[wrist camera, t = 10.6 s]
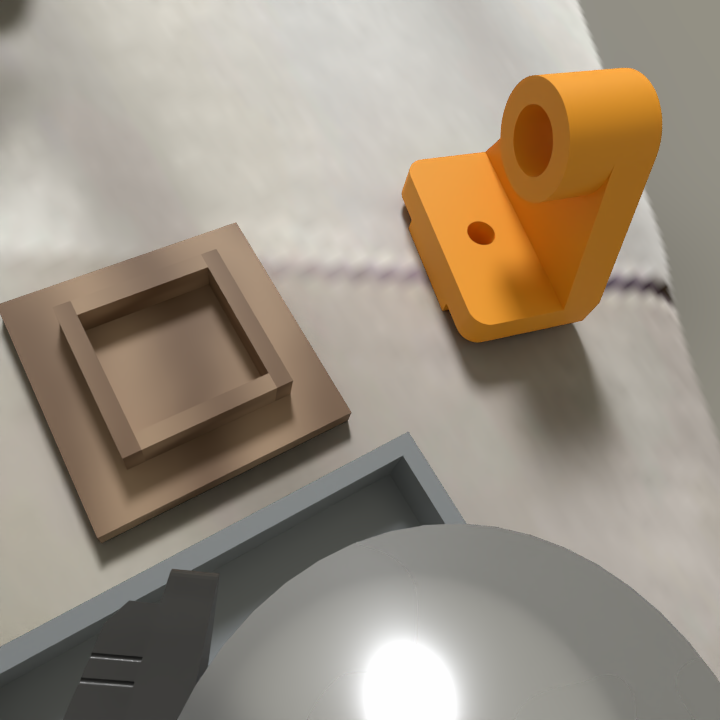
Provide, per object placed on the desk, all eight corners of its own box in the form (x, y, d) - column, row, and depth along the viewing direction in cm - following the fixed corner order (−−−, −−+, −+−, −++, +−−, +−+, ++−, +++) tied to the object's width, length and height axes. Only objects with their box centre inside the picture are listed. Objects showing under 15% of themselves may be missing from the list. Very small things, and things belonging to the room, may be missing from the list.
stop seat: (101, 543, 27) (90, 530, 25) (3, 315, 31) (-15, 287, 29) (347, 420, 32) (356, 399, 29) (236, 234, 35) (236, 203, 33)
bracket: (393, 193, 39) (455, 7, 28) (501, 179, 41) (596, 0, 30) (459, 352, 35) (559, 203, 24) (575, 328, 37) (715, 180, 26)
